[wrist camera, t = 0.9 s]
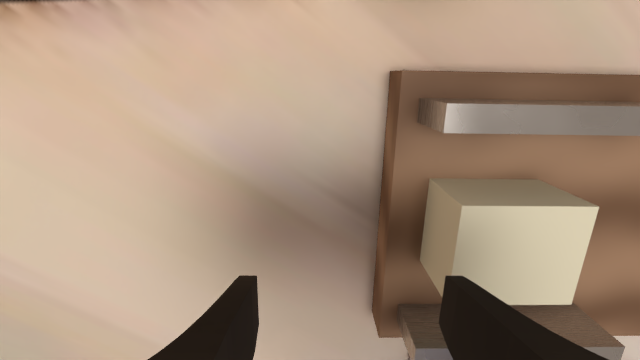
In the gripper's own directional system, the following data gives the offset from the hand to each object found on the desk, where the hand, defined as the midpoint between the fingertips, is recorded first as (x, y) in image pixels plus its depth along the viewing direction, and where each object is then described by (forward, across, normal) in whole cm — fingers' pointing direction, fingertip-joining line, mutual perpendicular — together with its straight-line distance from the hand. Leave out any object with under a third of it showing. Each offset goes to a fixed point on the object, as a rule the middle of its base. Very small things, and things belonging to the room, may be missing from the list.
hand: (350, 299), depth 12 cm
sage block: (+7, -8, 0) cm, 11 cm away
